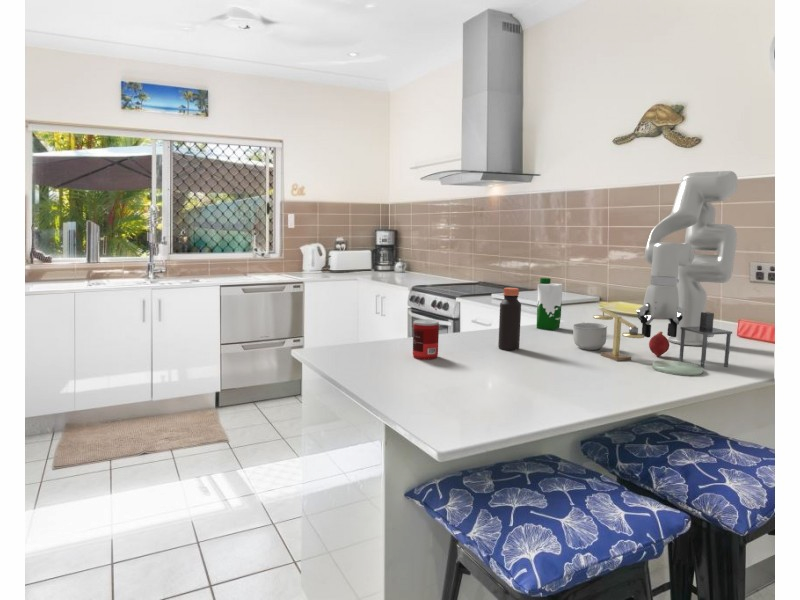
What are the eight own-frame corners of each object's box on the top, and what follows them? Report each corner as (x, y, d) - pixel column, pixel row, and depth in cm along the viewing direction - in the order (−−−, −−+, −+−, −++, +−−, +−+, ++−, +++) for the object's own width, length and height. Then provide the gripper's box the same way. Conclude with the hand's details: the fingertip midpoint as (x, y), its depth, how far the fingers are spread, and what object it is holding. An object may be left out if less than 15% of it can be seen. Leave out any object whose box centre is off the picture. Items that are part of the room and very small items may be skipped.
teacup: (608, 352, 184) (609, 328, 183) (573, 350, 186) (574, 326, 185) (601, 344, 197) (603, 321, 196) (569, 342, 199) (570, 320, 198)
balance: (587, 351, 185) (590, 307, 183) (603, 350, 187) (606, 306, 185) (629, 366, 165) (632, 316, 163) (646, 365, 167) (650, 316, 165)
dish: (679, 363, 170) (679, 359, 170) (713, 374, 157) (714, 370, 157) (642, 365, 166) (642, 361, 166) (675, 376, 154) (675, 372, 154)
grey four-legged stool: (703, 359, 175) (708, 310, 173) (729, 367, 166) (733, 314, 164) (677, 361, 173) (681, 310, 171) (702, 368, 163) (706, 315, 161)
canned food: (440, 355, 175) (441, 320, 174) (433, 360, 167) (434, 324, 166) (417, 353, 177) (418, 318, 176) (409, 358, 170) (410, 322, 169)
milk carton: (540, 325, 233) (543, 277, 231) (562, 328, 229) (565, 278, 226) (533, 328, 226) (535, 278, 224) (555, 331, 221) (558, 280, 219)
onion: (659, 359, 175) (661, 333, 174) (644, 355, 180) (645, 330, 179) (672, 357, 178) (674, 332, 177) (656, 353, 183) (658, 329, 182)
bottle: (498, 346, 191) (501, 287, 188) (519, 347, 189) (521, 287, 187) (497, 350, 184) (500, 289, 181) (519, 351, 183) (522, 289, 180)
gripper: (677, 281, 182) (672, 334, 184) (631, 280, 177) (627, 334, 179) (695, 283, 175) (690, 338, 176) (648, 282, 170) (643, 338, 172)
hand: (658, 336), depth 178 cm, fingers open, 9 cm apart
